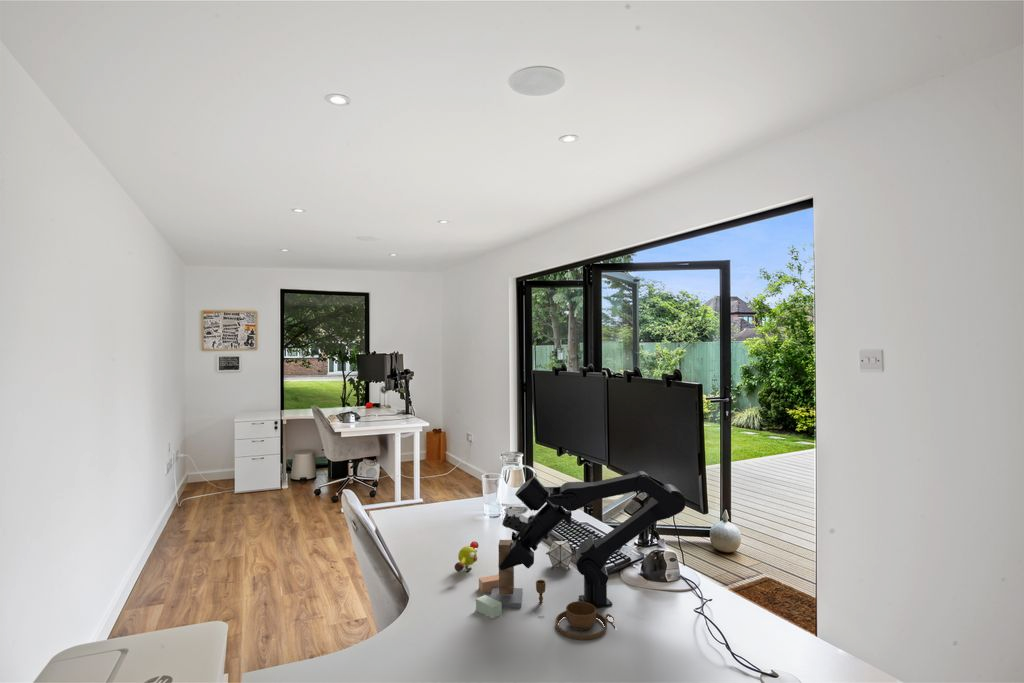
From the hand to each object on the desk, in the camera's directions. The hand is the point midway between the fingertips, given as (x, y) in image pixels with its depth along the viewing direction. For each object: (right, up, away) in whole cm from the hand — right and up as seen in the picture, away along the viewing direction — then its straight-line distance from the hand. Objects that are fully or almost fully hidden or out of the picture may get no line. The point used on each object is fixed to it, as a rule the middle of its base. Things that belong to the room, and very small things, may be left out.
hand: (500, 565), depth 142 cm
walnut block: (+1, -7, 0) cm, 7 cm away
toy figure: (-10, -9, +18) cm, 22 cm away
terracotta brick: (-3, -9, +6) cm, 11 cm away
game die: (+17, -9, +19) cm, 27 cm away
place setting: (+18, -10, -9) cm, 22 cm away
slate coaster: (+1, -9, 0) cm, 9 cm away
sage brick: (-3, -9, -6) cm, 11 cm away
